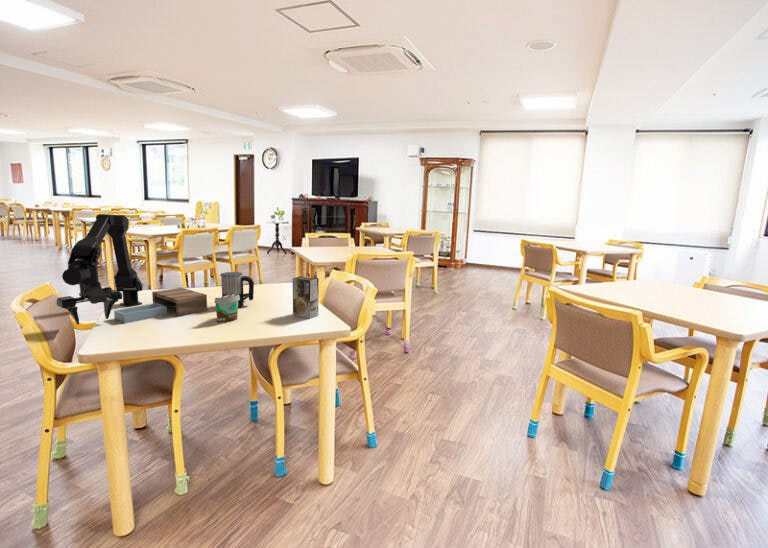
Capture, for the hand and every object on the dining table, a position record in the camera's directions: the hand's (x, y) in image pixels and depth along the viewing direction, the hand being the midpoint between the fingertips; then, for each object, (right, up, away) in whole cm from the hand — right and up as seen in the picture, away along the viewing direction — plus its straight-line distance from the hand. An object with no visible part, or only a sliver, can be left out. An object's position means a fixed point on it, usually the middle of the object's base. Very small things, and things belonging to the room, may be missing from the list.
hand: (92, 321), depth 153 cm
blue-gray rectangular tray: (+10, 0, +14) cm, 17 cm away
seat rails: (+19, +2, +27) cm, 34 cm away
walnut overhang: (+19, +2, +26) cm, 33 cm away
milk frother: (+38, +3, +39) cm, 55 cm away
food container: (+45, -1, +15) cm, 47 cm away
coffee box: (+72, 0, +25) cm, 77 cm away
